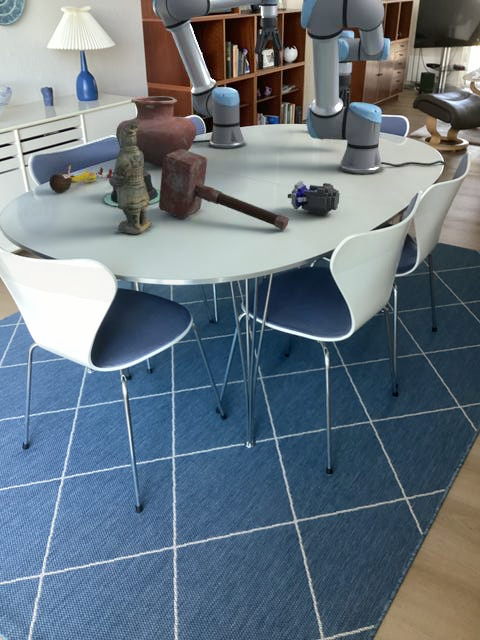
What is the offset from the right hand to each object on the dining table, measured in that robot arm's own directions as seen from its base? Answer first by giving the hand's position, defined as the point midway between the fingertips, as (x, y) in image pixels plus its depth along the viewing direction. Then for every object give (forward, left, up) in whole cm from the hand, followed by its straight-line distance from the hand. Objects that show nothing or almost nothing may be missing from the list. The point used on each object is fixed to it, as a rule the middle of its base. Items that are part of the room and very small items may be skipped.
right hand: (337, 133), depth 235 cm
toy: (+17, +79, -7) cm, 81 cm away
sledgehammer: (+44, +85, -7) cm, 96 cm away
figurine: (+98, +47, -7) cm, 109 cm away
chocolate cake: (+76, +62, -7) cm, 98 cm away
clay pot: (+74, +19, -7) cm, 77 cm away
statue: (+70, +91, -7) cm, 115 cm away
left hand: (+29, -42, +21) cm, 55 cm away
